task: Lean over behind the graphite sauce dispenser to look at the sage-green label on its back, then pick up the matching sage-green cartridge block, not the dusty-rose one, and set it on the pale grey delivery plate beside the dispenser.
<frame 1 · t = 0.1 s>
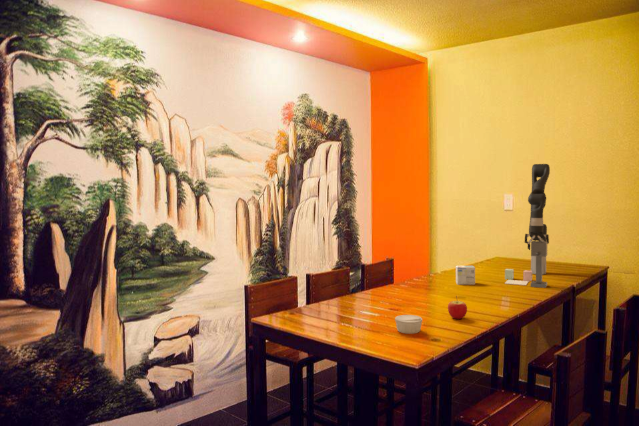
hand: (536, 250, 322), 17 cm above the table, tool pointing down, fingers open, 8 cm apart
delivery plate: (516, 282, 305), on the table
apple: (457, 318, 226), on the table
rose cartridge: (527, 280, 311), on the table
ramekin: (408, 331, 208), on the table
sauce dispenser: (538, 286, 294), on the table
sage cartridge: (509, 279, 317), on the table
light bulb box: (465, 284, 304), on the table
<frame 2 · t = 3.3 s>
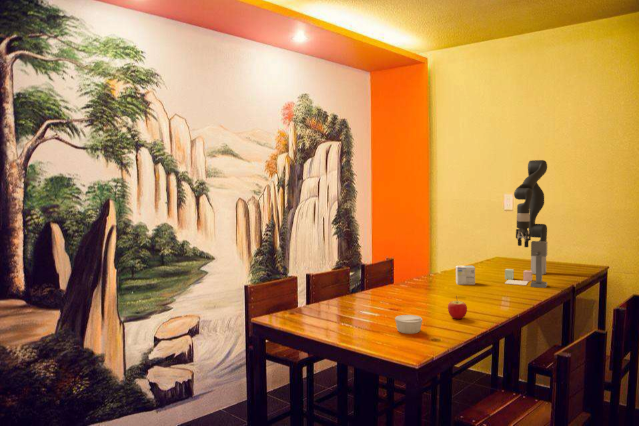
hand: (522, 246, 311), 21 cm above the table, tool pointing down, fingers open, 8 cm apart
nothing on the table moved.
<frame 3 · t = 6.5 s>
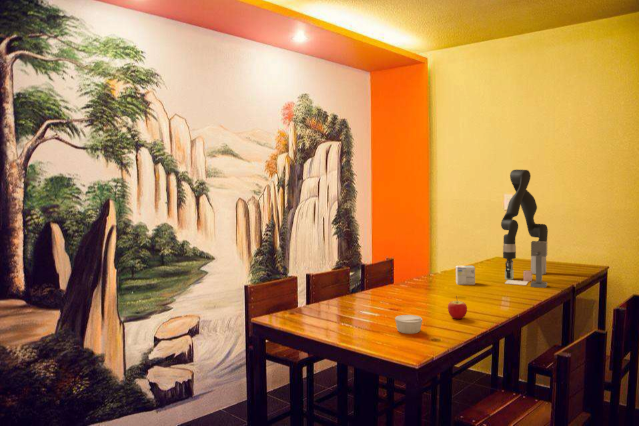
hand: (509, 277, 317), 1 cm above the table, tool pointing down, fingers closed on sage cartridge, 4 cm apart
sage cartridge: (509, 278, 317), on the table, touching gripper
everything else where it was.
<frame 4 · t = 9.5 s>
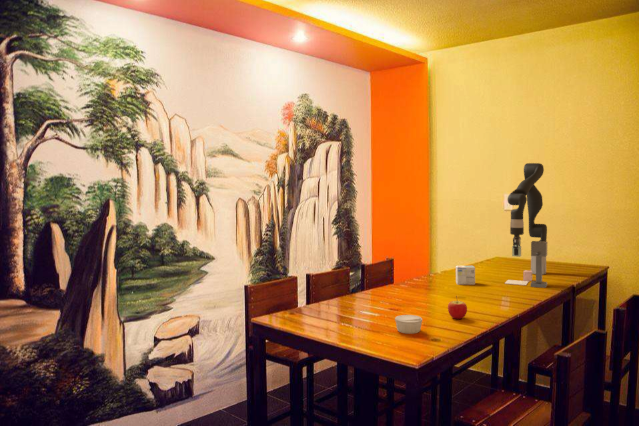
hand: (516, 254, 304), 17 cm above the table, tool pointing down, fingers closed on sage cartridge, 4 cm apart
sage cartridge: (516, 256, 304), point 16 cm above the table, touching gripper
everything else where it was.
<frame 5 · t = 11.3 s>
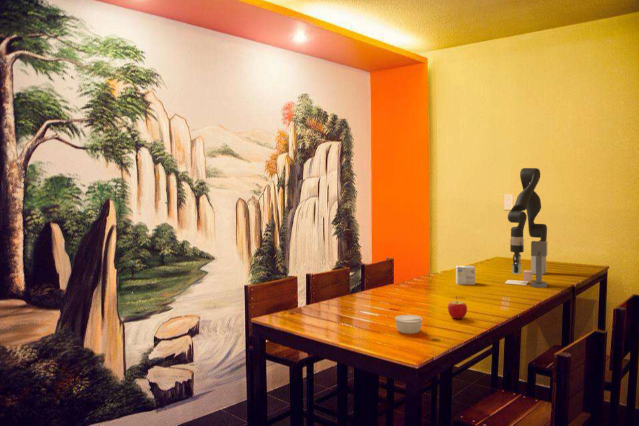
hand: (516, 272, 304), 7 cm above the table, tool pointing down, fingers closed on sage cartridge, 4 cm apart
sage cartridge: (516, 273, 304), point 6 cm above the table, touching gripper
everything else where it was.
when the fingers open (2 cm above the table, at t = 12.6 s): sage cartridge drops 1 cm, resting on delivery plate.
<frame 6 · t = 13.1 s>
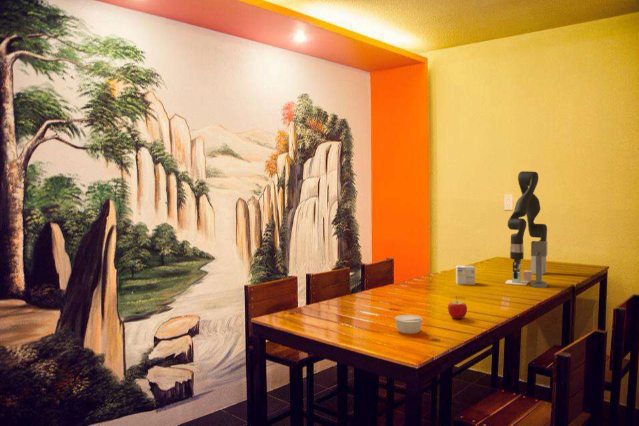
hand: (516, 277, 305), 3 cm above the table, tool pointing down, fingers open, 8 cm apart
sage cartridge: (516, 282, 305), resting on delivery plate
everything else where it was.
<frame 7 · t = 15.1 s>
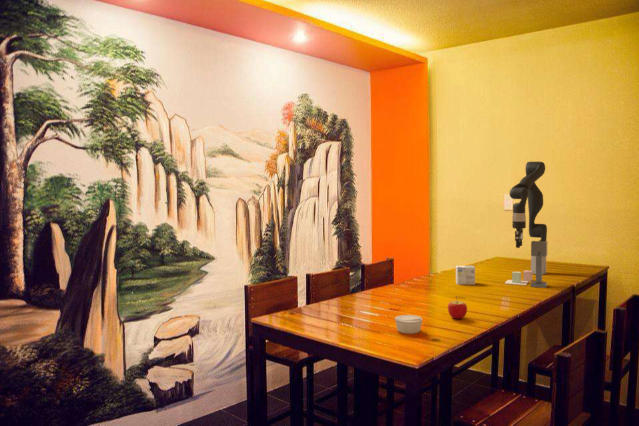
hand: (519, 246, 306), 22 cm above the table, tool pointing down, fingers open, 8 cm apart
nothing on the table moved.
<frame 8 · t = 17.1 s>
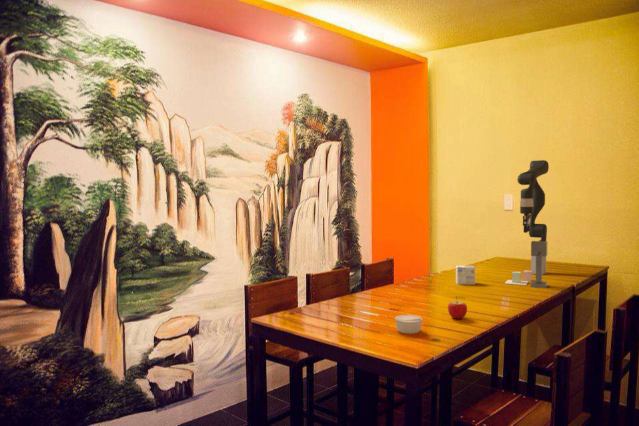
hand: (526, 232, 311), 30 cm above the table, tool pointing down, fingers open, 8 cm apart
nothing on the table moved.
at the end: sage cartridge inside the target area (0.0 cm from its centre), resting on delivery plate; sage cartridge tilted 0°; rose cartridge moved 0.1 cm from its start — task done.
